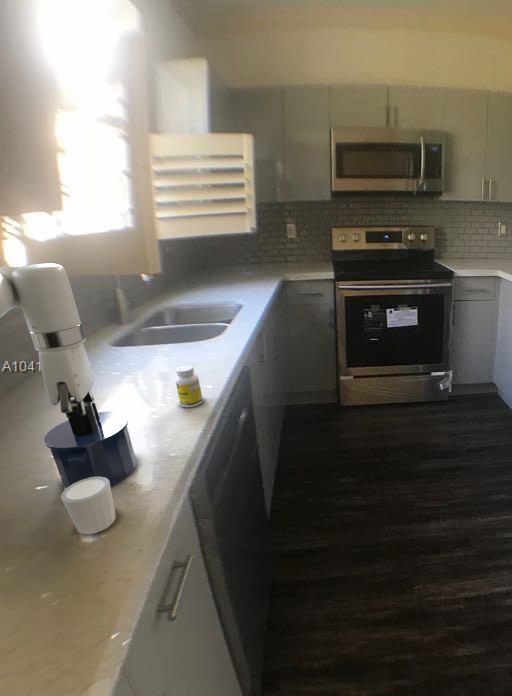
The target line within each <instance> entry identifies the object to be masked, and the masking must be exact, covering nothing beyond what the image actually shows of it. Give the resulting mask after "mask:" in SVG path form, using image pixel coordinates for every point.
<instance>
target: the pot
mask: <svg viewBox="0 0 512 696" xmlns="http://www.w3.org/2000/svg"><path fill="white" fill-rule="evenodd" d="M50 452H51V455H52V457H53V461H54V464H55V466H56V469H57V472H58V474H59V477H60V481H61V483H62V486H63V488H64V490H65V489H66V488H68V487H69V486H71V485H72V484H74V483H76V482H78V481H80V480H83V479H87V478H90V477H105V478H107V479H108V480H109V482H110V487H113V486H115V485H117V484H119V483H120V482H122V481H125V479H127V478H128V477H130V476H131V475H132V474H133V472H134V471H135V469H136V467H137V458H136V455H135V451H134V447H133V443H132V440H131V436H130V432H129V429H128V426H127V427H126V428H125V429H124V430H123V431H122V432H121V433H120V434H118V435H117V436H115V437H113V438H112V439H110V440H107V441H105V442H103V443H100V444H97V445H94V446H91V447H87V448H83V449H77V450H67V451H61V450H53V449H50Z"/></svg>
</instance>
